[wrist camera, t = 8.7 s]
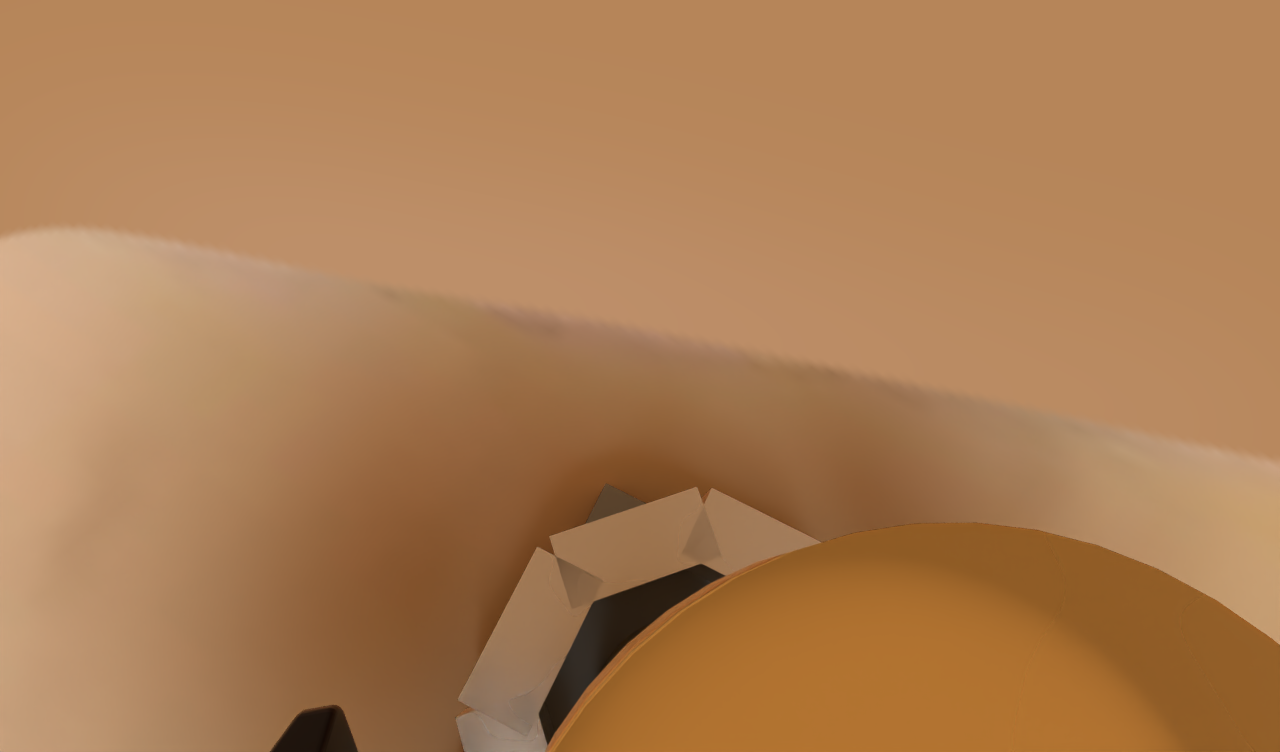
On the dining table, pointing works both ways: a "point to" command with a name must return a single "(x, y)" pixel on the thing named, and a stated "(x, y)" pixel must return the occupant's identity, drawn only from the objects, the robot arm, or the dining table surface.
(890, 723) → the golden flared cup
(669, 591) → the grey base plate
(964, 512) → the dining table surface
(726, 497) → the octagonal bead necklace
